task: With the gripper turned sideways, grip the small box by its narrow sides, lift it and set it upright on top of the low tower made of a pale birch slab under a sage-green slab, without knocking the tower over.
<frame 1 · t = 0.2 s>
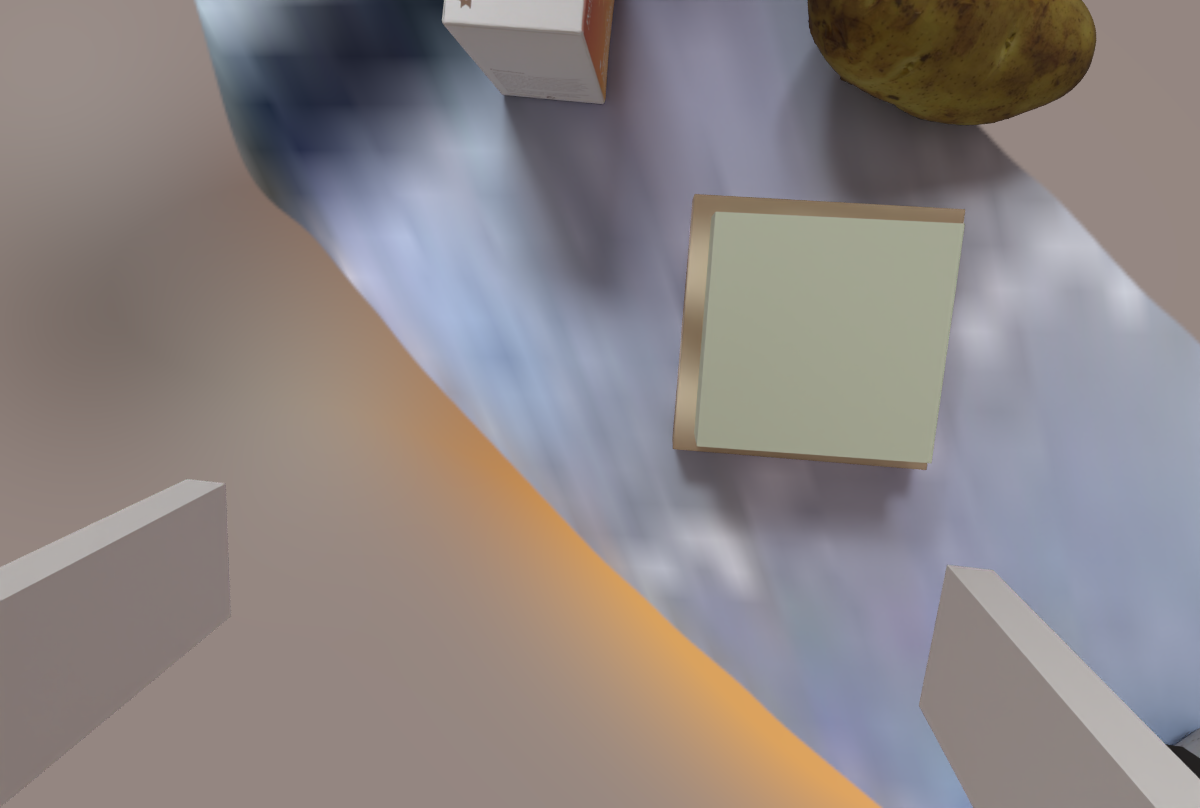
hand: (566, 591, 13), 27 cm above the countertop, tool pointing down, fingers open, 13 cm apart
ceramic mug: (1176, 794, 41), on the countertop
sage top slab: (811, 334, 36), point 2 cm above the countertop, touching birch base slab
potato: (916, 56, 36), on the countertop
birch base slab: (801, 330, 39), on the countertop, touching sage top slab
small box: (560, 21, 37), on the countertop
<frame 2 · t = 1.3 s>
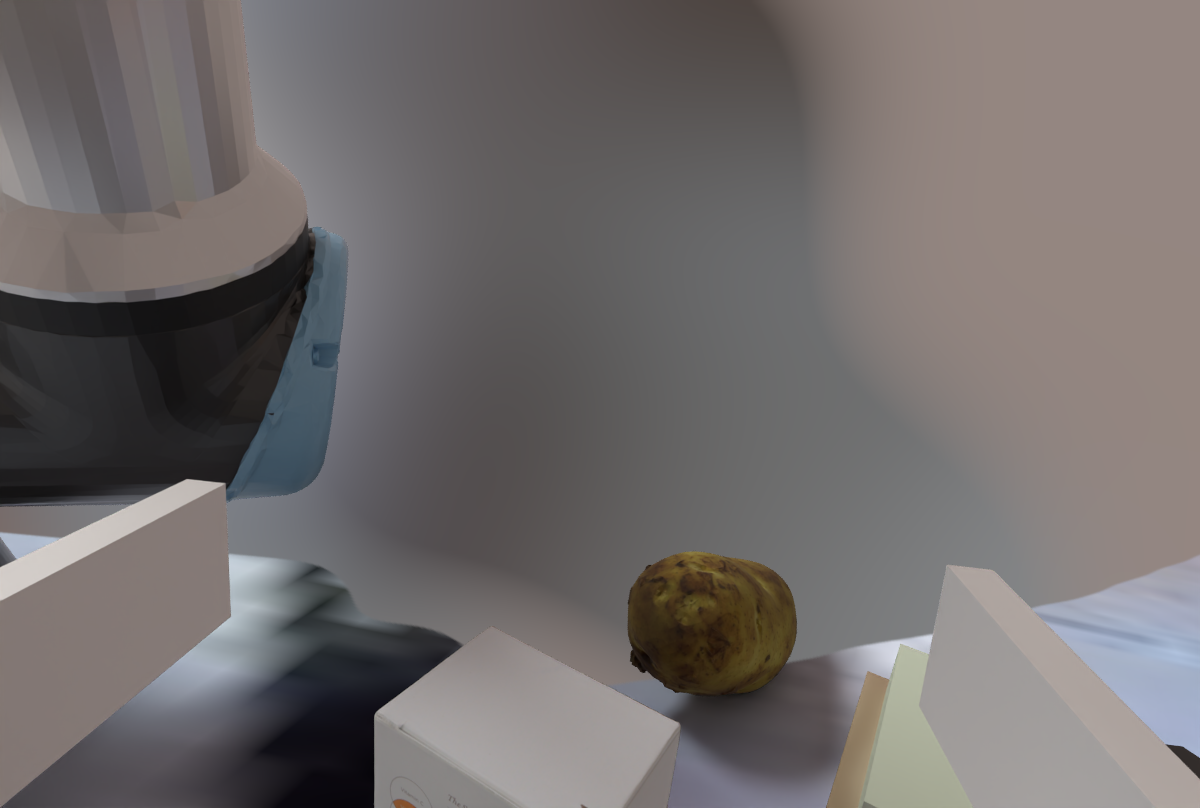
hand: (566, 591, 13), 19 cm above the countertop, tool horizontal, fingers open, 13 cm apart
potato: (711, 676, 40), on the countertop
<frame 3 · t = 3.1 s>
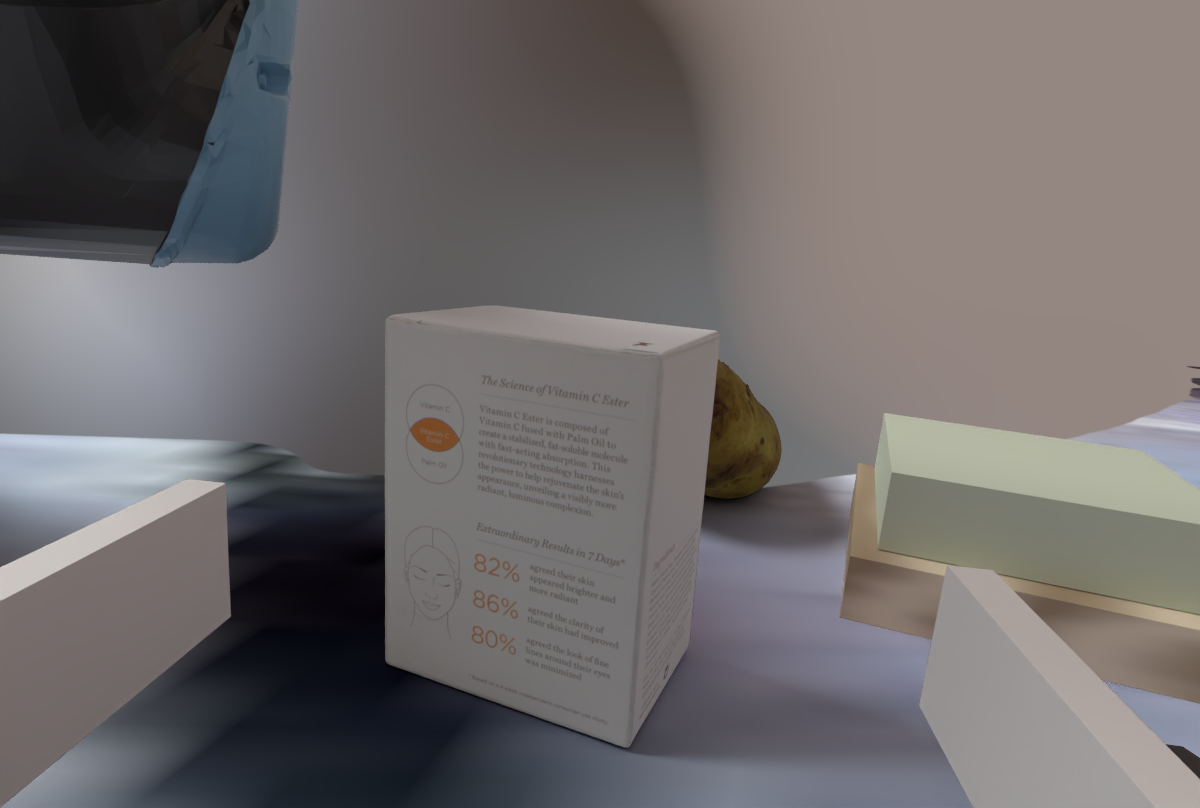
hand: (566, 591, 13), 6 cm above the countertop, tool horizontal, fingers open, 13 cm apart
sage top slab: (1015, 528, 30), point 2 cm above the countertop
potato: (701, 496, 38), on the countertop
birch base slab: (1005, 597, 30), on the countertop
small box: (541, 664, 22), on the countertop
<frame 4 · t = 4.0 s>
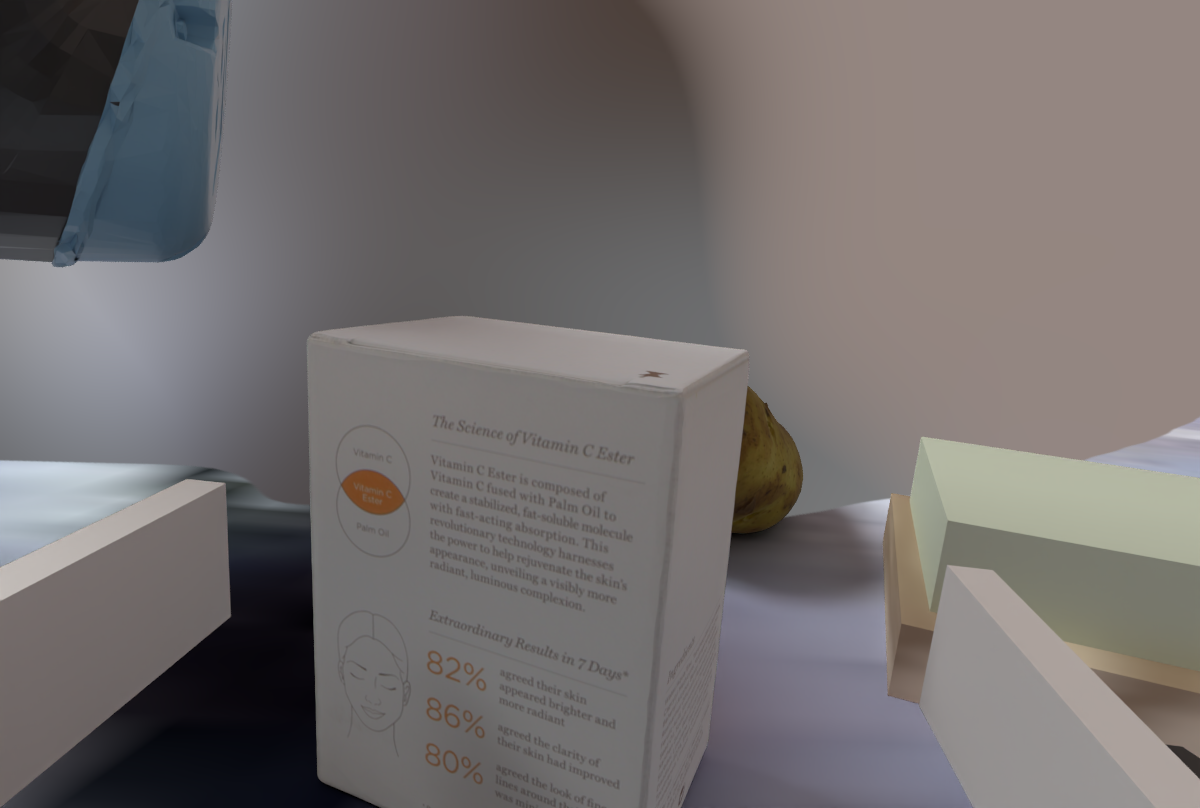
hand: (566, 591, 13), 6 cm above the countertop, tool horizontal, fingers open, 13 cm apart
sage top slab: (1086, 578, 25), point 2 cm above the countertop, touching birch base slab
potato: (712, 529, 34), on the countertop
birch base slab: (1075, 661, 25), on the countertop, touching sage top slab
small box: (520, 774, 17), on the countertop
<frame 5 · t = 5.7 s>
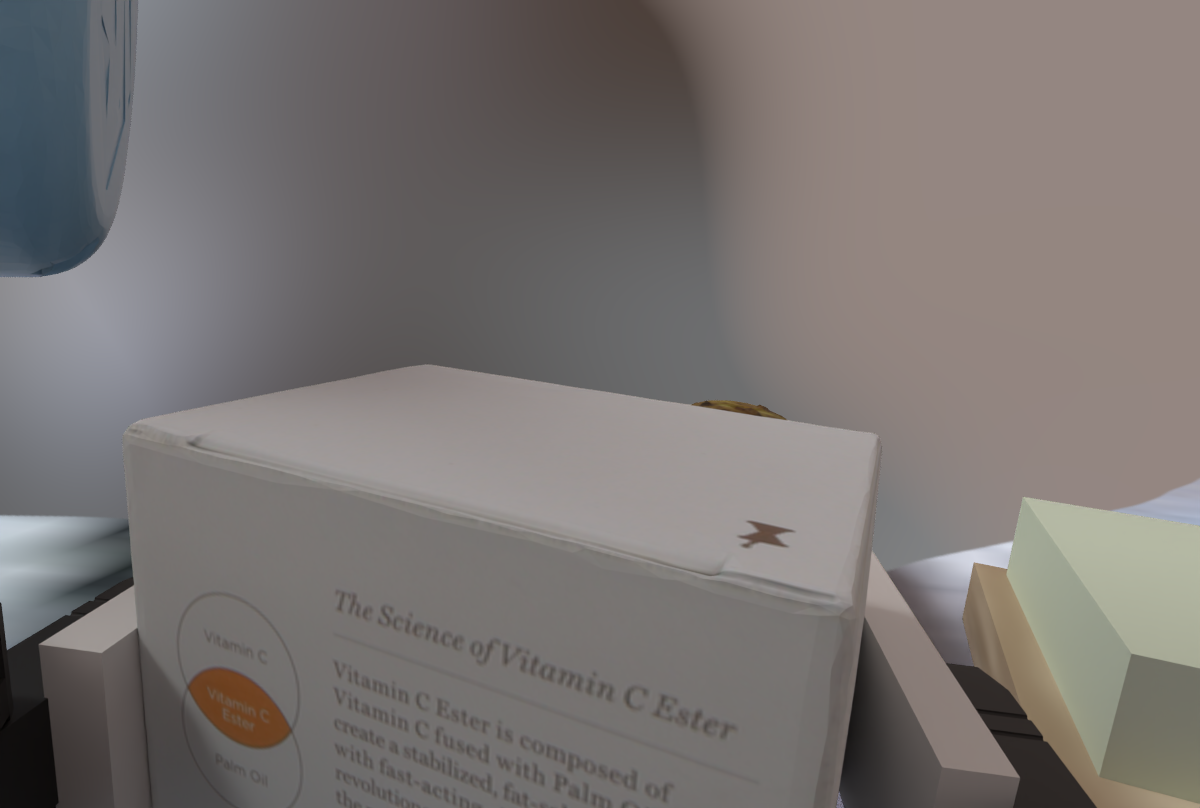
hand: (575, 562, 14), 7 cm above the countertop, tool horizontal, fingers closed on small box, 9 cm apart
potato: (752, 602, 27), on the countertop
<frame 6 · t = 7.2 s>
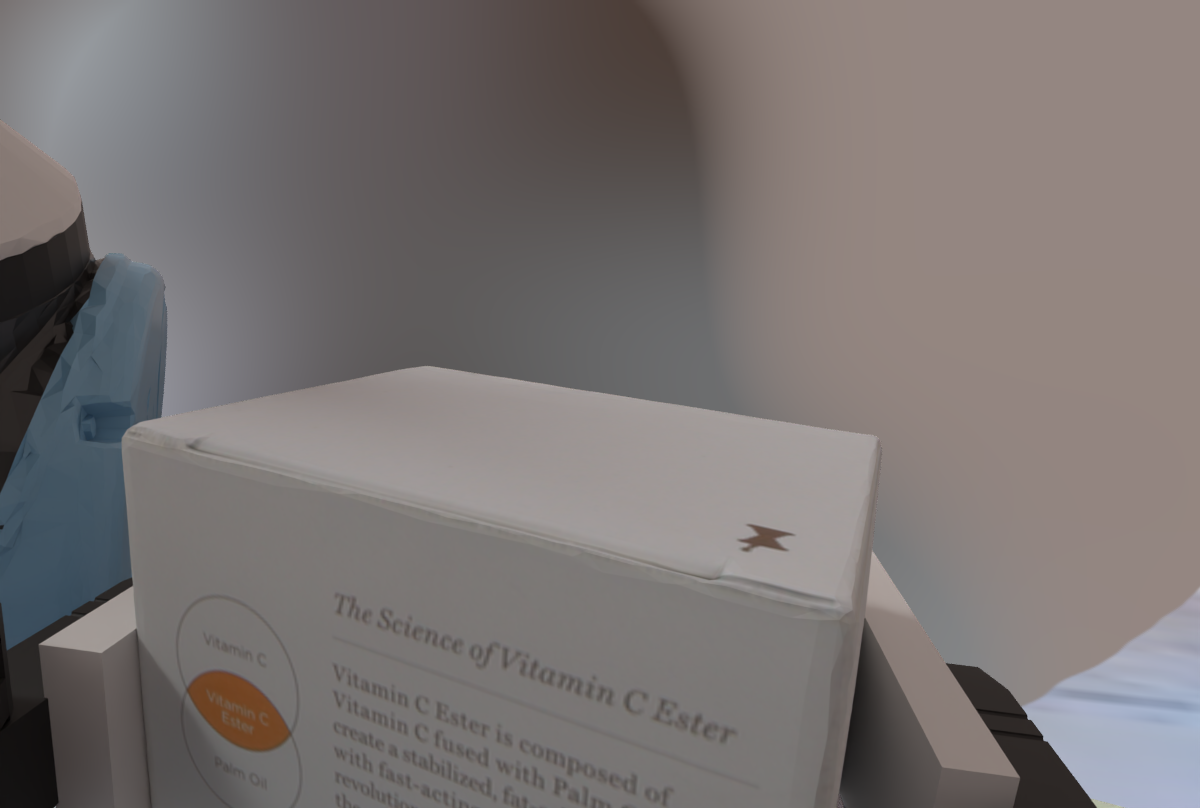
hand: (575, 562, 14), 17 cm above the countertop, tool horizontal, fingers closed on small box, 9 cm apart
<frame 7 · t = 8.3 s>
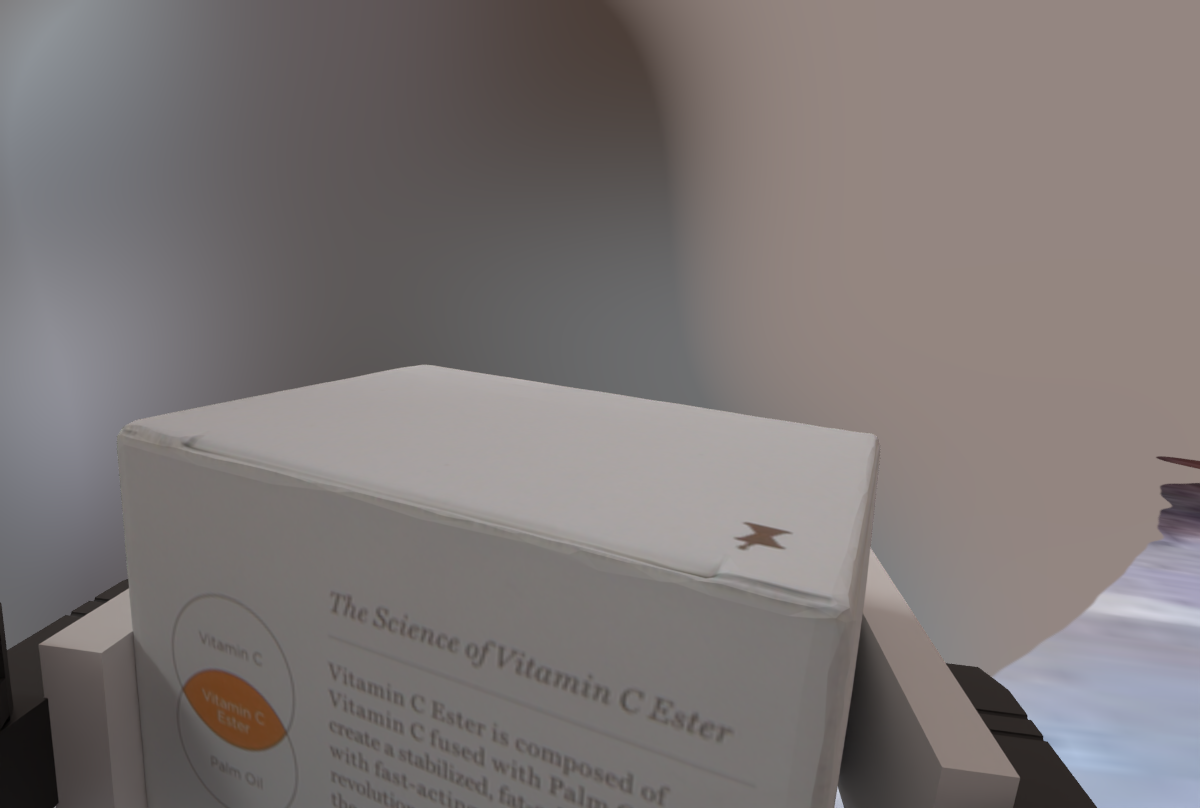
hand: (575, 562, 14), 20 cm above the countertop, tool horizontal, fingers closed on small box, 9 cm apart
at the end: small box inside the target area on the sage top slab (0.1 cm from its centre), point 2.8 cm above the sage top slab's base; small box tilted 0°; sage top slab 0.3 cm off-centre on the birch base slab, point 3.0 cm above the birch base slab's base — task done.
